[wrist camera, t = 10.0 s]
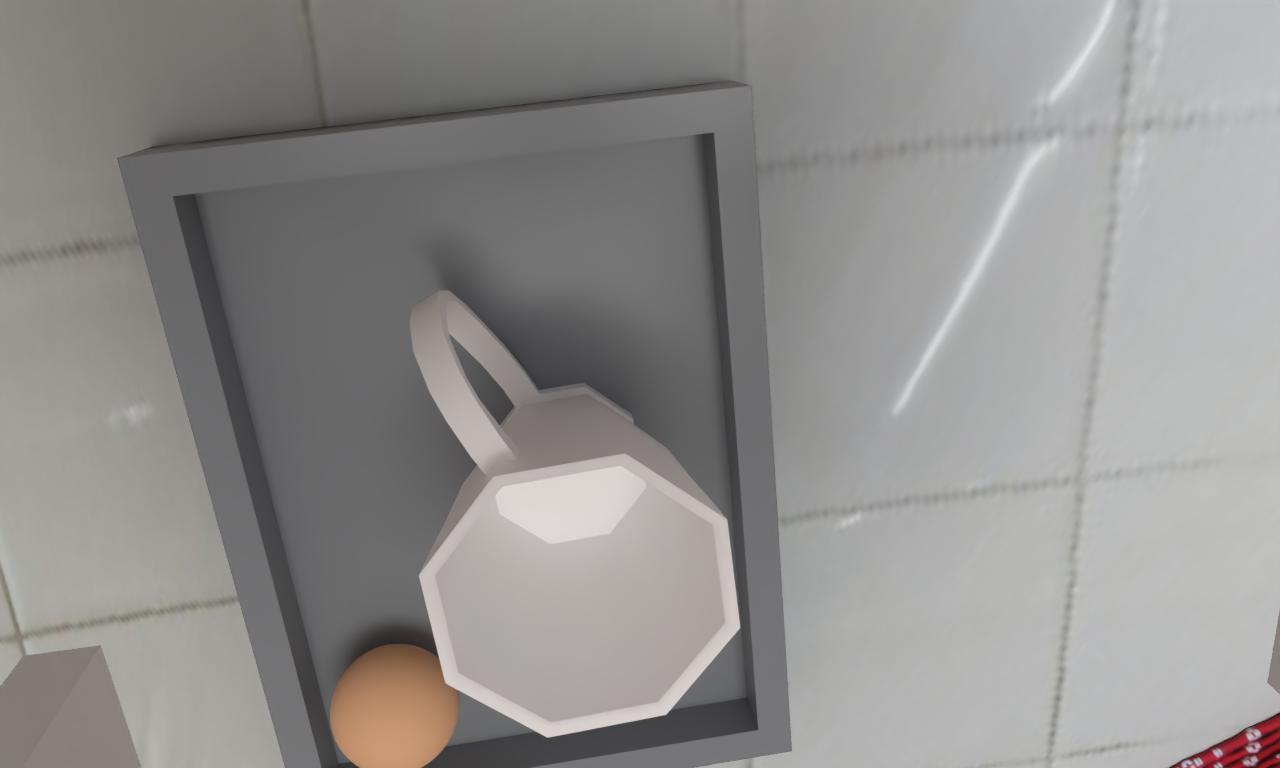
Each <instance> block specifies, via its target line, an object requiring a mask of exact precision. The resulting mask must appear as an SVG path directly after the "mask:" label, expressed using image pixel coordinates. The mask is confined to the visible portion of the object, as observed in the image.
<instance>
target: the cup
mask: <svg viewBox="0 0 1280 768" xmlns="http://www.w3.org/2000/svg"><path fill="white" fill-rule="evenodd" d="M410 331H411V338H412V345H413V352H414V355H415V357H416V360H417V362H418V365H419V367H420V370H421V372H422V375H423V377H424V380H425V382H426V384H427V387H428V389H429V392H430V394H431V396H432V397H433V399H434V401H435V402H436V404H437V406H438V408H439V409H440V411H441V413H442V415H443V416H444V418H445V420H446V421H447V423H448V424H449V426H450V427H451V429H452V430H453V432H454V433H455V435H456V436H457V437H458V439H459V440H460V442H461V443H462V445H463V446H464V448H465V449H466V451H467V452H468V453H469V455H470V456H471V458H472V459H473V460H474V461H475V463H476V464H477V465H476V467H475V468H474V470H473V471H472V472H471V474H470V475H469V476H468V478H467V479H466V480H465V482H464V483H463V484H462V486H461V489H460V491H459V493H458V495H457V497H456V499H455V502H454V504H453V506H452V508H451V510H450V513H449V515H448V517H447V519H446V521H445V523H444V525H443V527H442V529H441V531H440V533H439V535H438V537H437V539H436V541H435V543H434V545H433V546H432V548H431V550H430V553H429V555H428V557H427V559H426V561H425V563H424V565H423V567H422V570H421V572H420V574H419V579H420V583H421V587H422V591H423V595H424V599H425V603H426V607H427V611H428V615H429V619H430V623H431V627H432V631H433V635H434V640H435V644H436V648H437V652H438V656H439V660H440V664H441V668H442V672H443V676H444V680H445V683H446V684H447V685H449V686H451V687H453V688H455V689H457V690H459V691H461V692H462V693H464V694H466V695H468V696H470V697H472V698H474V699H476V700H478V701H479V702H481V703H483V704H485V705H487V706H489V707H491V708H493V709H494V710H496V711H498V712H500V713H502V714H504V715H506V716H508V717H510V718H511V719H513V720H515V721H517V722H519V723H521V724H523V725H525V726H526V727H528V728H530V729H532V730H534V731H536V732H538V733H540V734H542V735H543V736H545V737H547V738H549V737H554V736H559V735H565V734H570V733H575V732H580V731H585V730H590V729H596V728H601V727H606V726H611V725H616V724H621V723H627V722H632V721H637V720H642V719H647V718H653V717H658V716H663V715H667V713H668V712H669V711H670V710H671V709H672V707H673V706H674V705H675V704H676V703H677V702H678V700H679V699H680V698H681V697H682V696H683V695H684V693H685V692H686V691H687V690H688V689H689V688H690V686H691V685H692V684H693V683H694V682H695V680H696V679H697V678H698V677H699V676H700V675H701V673H702V672H703V671H704V670H705V669H706V668H707V666H708V665H709V664H710V663H711V662H712V660H713V659H714V658H715V657H716V656H717V655H718V653H719V652H720V651H721V650H722V649H723V648H724V646H725V645H726V644H727V643H728V642H729V640H730V639H731V638H732V637H733V636H734V635H735V633H736V632H737V631H738V630H739V629H740V620H739V612H738V604H737V596H736V587H735V579H734V571H733V563H732V554H731V546H730V538H729V529H728V521H727V519H726V517H725V516H724V515H723V514H722V513H721V511H720V510H719V509H718V508H717V507H716V505H715V504H714V503H713V502H712V501H711V499H710V498H709V497H708V496H707V495H706V494H705V493H704V492H703V490H702V489H701V488H700V487H699V486H698V485H697V484H696V483H695V482H694V481H693V479H692V478H691V477H690V476H689V475H688V473H687V472H686V471H685V470H684V468H683V467H682V466H681V465H680V463H679V462H678V461H677V460H676V459H675V457H674V456H673V455H672V454H671V452H670V451H669V450H668V449H667V448H666V447H665V446H663V445H662V444H661V443H659V442H658V441H656V440H655V439H654V438H652V437H651V436H650V435H648V434H647V433H645V432H644V431H643V430H641V429H640V428H638V427H637V426H635V425H634V422H633V417H632V414H631V413H629V412H628V411H626V410H625V409H623V408H622V407H620V406H619V405H617V404H616V403H614V402H613V401H611V400H610V399H608V398H606V397H605V396H603V395H602V394H600V393H599V392H597V391H596V390H594V389H593V388H591V387H590V386H588V385H587V384H585V383H578V384H572V385H566V386H560V387H554V388H548V389H543V390H538V388H537V387H536V385H535V384H534V382H533V381H532V379H531V378H530V377H529V375H528V374H527V372H526V371H525V369H524V368H523V367H522V366H521V365H520V363H519V362H518V361H517V360H516V359H515V357H514V356H513V355H512V354H511V353H510V351H509V350H508V349H507V348H506V346H505V345H504V344H503V343H502V342H501V341H500V340H499V339H498V338H497V337H496V335H495V334H494V333H493V332H492V331H491V330H490V329H489V328H488V327H487V326H486V325H485V324H484V323H483V322H482V320H481V319H480V318H479V317H478V316H477V315H476V314H475V313H474V312H473V311H472V310H471V309H470V308H469V307H468V306H467V305H466V304H465V303H464V302H462V301H461V300H460V299H459V298H458V297H456V296H455V295H454V294H453V293H451V292H450V291H438V292H437V293H435V294H433V295H432V296H430V297H428V298H427V299H425V300H424V301H422V302H420V303H419V304H417V305H415V306H414V307H412V309H411V316H410ZM449 334H450V335H451V336H452V337H454V338H455V339H456V340H457V341H458V342H459V343H460V344H461V345H462V346H463V347H464V348H465V349H466V350H467V351H468V352H469V353H470V354H471V355H472V356H473V357H474V358H475V359H476V360H477V361H478V362H479V363H480V364H481V365H482V366H483V367H484V368H485V369H486V370H487V372H488V373H489V374H490V375H491V376H492V377H493V378H494V380H495V381H496V382H497V383H498V384H499V385H500V386H501V388H502V389H503V390H504V391H505V393H506V394H507V396H508V397H509V399H510V400H511V402H512V403H513V405H514V407H513V408H512V410H511V411H510V412H509V414H508V415H507V417H506V418H505V419H504V421H503V422H502V423H501V425H499V424H498V423H497V421H496V420H495V419H494V418H493V416H492V415H491V414H490V412H489V411H488V410H487V408H486V407H485V406H484V405H483V403H482V402H481V401H480V399H479V398H478V396H477V394H476V393H475V391H474V389H473V388H472V386H471V384H470V382H469V381H468V379H467V377H466V375H465V372H464V370H463V368H462V365H461V363H460V361H459V358H458V356H457V354H456V352H455V349H454V347H453V345H452V342H451V340H450V336H449Z"/></svg>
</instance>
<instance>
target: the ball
mask: <svg viewBox="0 0 1280 768" xmlns="http://www.w3.org/2000/svg"><path fill="white" fill-rule="evenodd" d="M458 713H459V697H458V691H457V689H455V688H453V687H451V686H449V685H447V684H446V683H445V680H444V676H443V672H442V668H441V664H440V660H439V658H438V657H436V656H435V655H434V654H432V653H431V652H429V651H427V650H425V649H423V648H420V647H417V646H413V645H409V644H389V645H384V646H380V647H377V648H375V649H372V650H370V651H368V652H366V653H365V654H363V655H362V656H360V657H359V658H357V659H356V660H355V661H354V662H353V663H352V664H351V665H350V666H349V667H348V668H347V669H346V670H345V672H344V673H343V675H342V676H341V678H340V679H339V681H338V683H337V685H336V687H335V690H334V693H333V696H332V700H331V706H330V723H331V729H332V732H333V735H334V738H335V741H336V743H337V745H338V746H339V748H340V750H341V751H342V752H343V754H344V755H345V756H346V757H347V758H348V759H349V760H350V761H351V762H352V763H354V764H355V765H356V766H358V767H360V768H421V767H423V766H425V765H426V764H428V763H429V762H431V761H432V760H433V759H434V758H435V757H436V756H437V755H438V754H439V753H440V752H441V751H442V750H443V749H444V747H445V746H446V745H447V743H448V742H449V740H450V738H451V736H452V734H453V732H454V729H455V726H456V724H457V719H458Z"/></svg>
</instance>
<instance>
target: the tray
mask: <svg viewBox="0 0 1280 768" xmlns="http://www.w3.org/2000/svg"><path fill="white" fill-rule="evenodd" d="M117 159H118V163H119V167H120V170H121V174H122V178H123V181H124V185H125V188H126V192H127V196H128V199H129V203H130V207H131V210H132V214H133V217H134V221H135V225H136V228H137V232H138V236H139V239H140V243H141V246H142V250H143V254H144V257H145V261H146V265H147V268H148V272H149V275H150V279H151V283H152V286H153V290H154V294H155V297H156V301H157V304H158V308H159V312H160V315H161V319H162V323H163V326H164V330H165V333H166V337H167V341H168V344H169V348H170V352H171V355H172V359H173V363H174V366H175V370H176V373H177V377H178V381H179V384H180V388H181V392H182V395H183V399H184V402H185V406H186V410H187V413H188V417H189V421H190V424H191V428H192V431H193V435H194V439H195V442H196V446H197V450H198V453H199V457H200V460H201V464H202V468H203V471H204V475H205V479H206V482H207V486H208V489H209V493H210V497H211V500H212V504H213V508H214V511H215V515H216V518H217V522H218V526H219V529H220V533H221V537H222V540H223V544H224V547H225V551H226V555H227V558H228V562H229V566H230V569H231V573H232V576H233V580H234V584H235V587H236V591H237V595H238V598H239V602H240V605H241V609H242V613H243V616H244V620H245V624H246V627H247V631H248V634H249V638H250V642H251V645H252V649H253V653H254V656H255V660H256V664H257V667H258V671H259V674H260V678H261V682H262V685H263V689H264V693H265V696H266V700H267V703H268V707H269V711H270V714H271V718H272V722H273V725H274V729H275V732H276V736H277V740H278V743H279V747H280V751H281V754H282V758H283V761H284V765H285V768H360V767H358V766H356V765H355V764H354V763H352V762H351V761H350V760H349V759H348V758H347V757H346V756H345V755H344V754H343V752H342V751H341V750H340V748H339V746H338V745H337V743H336V741H335V738H334V735H333V732H332V729H331V723H330V706H331V700H332V696H333V693H334V690H335V687H336V685H337V683H338V681H339V679H340V678H341V676H342V675H343V673H344V672H345V670H346V669H347V668H348V667H349V666H350V665H351V664H352V663H353V662H354V661H355V660H356V659H357V658H359V657H360V656H362V655H363V654H365V653H366V652H368V651H370V650H372V649H375V648H377V647H380V646H384V645H389V644H409V645H413V646H417V647H420V648H423V649H425V650H427V651H429V652H431V653H432V654H434V655H435V656H436V657H438V658H439V656H438V652H437V648H436V644H435V640H434V635H433V631H432V627H431V623H430V619H429V615H428V611H427V607H426V603H425V599H424V595H423V591H422V587H421V583H420V579H419V574H420V572H421V570H422V567H423V565H424V563H425V561H426V559H427V557H428V555H429V553H430V550H431V548H432V546H433V545H434V543H435V541H436V539H437V537H438V535H439V533H440V531H441V529H442V527H443V525H444V523H445V521H446V519H447V517H448V515H449V513H450V510H451V508H452V506H453V504H454V502H455V499H456V497H457V495H458V493H459V491H460V489H461V486H462V484H463V483H464V482H465V480H466V479H467V478H468V476H469V475H470V474H471V472H472V471H473V470H474V468H475V467H476V465H477V464H476V463H475V461H474V460H473V459H472V458H471V456H470V455H469V453H468V452H467V451H466V449H465V448H464V446H463V445H462V443H461V442H460V440H459V439H458V437H457V436H456V435H455V433H454V432H453V430H452V429H451V427H450V426H449V424H448V423H447V421H446V420H445V418H444V416H443V415H442V413H441V411H440V409H439V408H438V406H437V404H436V402H435V401H434V399H433V397H432V396H431V394H430V392H429V389H428V387H427V384H426V382H425V380H424V377H423V375H422V372H421V370H420V367H419V365H418V362H417V360H416V357H415V355H414V352H413V345H412V338H411V331H410V316H411V309H412V307H414V306H415V305H417V304H419V303H420V302H422V301H424V300H425V299H427V298H428V297H430V296H432V295H433V294H435V293H437V292H438V291H450V292H451V293H453V294H454V295H455V296H456V297H458V298H459V299H460V300H461V301H462V302H464V303H465V304H466V305H467V306H468V307H469V308H470V309H471V310H472V311H473V312H474V313H475V314H476V315H477V316H478V317H479V318H480V319H481V320H482V322H483V323H484V324H485V325H486V326H487V327H488V328H489V329H490V330H491V331H492V332H493V333H494V334H495V335H496V337H497V338H498V339H499V340H500V341H501V342H502V343H503V344H504V345H505V346H506V348H507V349H508V350H509V351H510V353H511V354H512V355H513V356H514V357H515V359H516V360H517V361H518V362H519V363H520V365H521V366H522V367H523V368H524V369H525V371H526V372H527V374H528V375H529V377H530V378H531V379H532V381H533V382H534V384H535V385H536V387H537V388H538V390H543V389H548V388H554V387H560V386H566V385H572V384H578V383H585V384H587V385H588V386H590V387H591V388H593V389H594V390H596V391H597V392H599V393H600V394H602V395H603V396H605V397H606V398H608V399H610V400H611V401H613V402H614V403H616V404H617V405H619V406H620V407H622V408H623V409H625V410H626V411H628V412H629V413H631V414H632V417H633V422H634V425H635V426H637V427H638V428H640V429H641V430H643V431H644V432H645V433H647V434H648V435H650V436H651V437H652V438H654V439H655V440H656V441H658V442H659V443H661V444H662V445H663V446H665V447H666V448H667V449H668V450H669V451H670V452H671V454H672V455H673V456H674V457H675V459H676V460H677V461H678V462H679V463H680V465H681V466H682V467H683V468H684V470H685V471H686V472H687V473H688V475H689V476H690V477H691V478H692V479H693V481H694V482H695V483H696V484H697V485H698V486H699V487H700V488H701V489H702V490H703V492H704V493H705V494H706V495H707V496H708V497H709V498H710V499H711V501H712V502H713V503H714V504H715V505H716V507H717V508H718V509H719V510H720V511H721V513H722V514H723V515H724V516H725V517H726V519H727V521H728V529H729V538H730V546H731V554H732V563H733V571H734V579H735V587H736V596H737V604H738V612H739V620H740V629H739V630H738V631H737V632H736V633H735V635H734V636H733V637H732V638H731V639H730V640H729V642H728V643H727V644H726V645H725V646H724V648H723V649H722V650H721V651H720V652H719V653H718V655H717V656H716V657H715V658H714V659H713V660H712V662H711V663H710V664H709V665H708V666H707V668H706V669H705V670H704V671H703V672H702V673H701V675H700V676H699V677H698V678H697V679H696V680H695V682H694V683H693V684H692V685H691V686H690V688H689V689H688V690H687V691H686V692H685V693H684V695H683V696H682V697H681V698H680V699H679V700H678V702H677V703H676V704H675V705H674V706H673V707H672V709H671V710H670V711H669V712H668V713H667V715H663V716H658V717H653V718H647V719H642V720H637V721H632V722H627V723H621V724H616V725H611V726H606V727H601V728H596V729H590V730H585V731H580V732H575V733H570V734H565V735H559V736H554V737H549V738H547V737H545V736H543V735H542V734H540V733H538V732H536V731H534V730H532V729H530V728H528V727H526V726H525V725H523V724H521V723H519V722H517V721H515V720H513V719H511V718H510V717H508V716H506V715H504V714H502V713H500V712H498V711H496V710H494V709H493V708H491V707H489V706H487V705H485V704H483V703H481V702H479V701H478V700H476V699H474V698H472V697H470V696H468V695H466V694H464V693H462V692H461V691H459V690H457V691H458V697H459V713H458V719H457V724H456V726H455V729H454V732H453V734H452V736H451V738H450V740H449V742H448V743H447V745H446V746H445V747H444V749H443V750H442V751H441V752H440V753H439V754H438V755H437V756H436V757H435V758H434V759H433V760H432V761H431V762H429V763H428V764H426V765H425V766H423V767H421V768H694V767H700V766H706V765H712V764H718V763H724V762H730V761H736V760H742V759H747V758H753V757H759V756H765V755H771V754H777V753H783V752H789V751H792V747H791V731H790V714H789V698H788V681H787V665H786V648H785V632H784V615H783V599H782V582H781V566H780V549H779V533H778V517H777V500H776V484H775V467H774V451H773V434H772V418H771V401H770V385H769V368H768V352H767V335H766V319H765V302H764V286H763V269H762V253H761V236H760V220H759V203H758V187H757V170H756V154H755V137H754V121H753V104H752V88H751V86H750V85H746V84H742V83H738V82H734V81H725V82H716V83H708V84H699V85H690V86H681V87H673V88H664V89H655V90H646V91H637V92H629V93H620V94H611V95H602V96H594V97H585V98H576V99H567V100H558V101H550V102H541V103H532V104H523V105H515V106H506V107H497V108H488V109H480V110H471V111H462V112H453V113H444V114H436V115H427V116H418V117H409V118H401V119H392V120H383V121H374V122H365V123H357V124H348V125H339V126H330V127H322V128H313V129H304V130H295V131H286V132H278V133H269V134H260V135H251V136H243V137H234V138H225V139H216V140H208V141H199V142H190V143H181V144H172V145H164V146H155V147H150V148H147V149H144V150H141V151H138V152H135V153H132V154H129V155H126V156H123V157H120V158H117ZM449 336H450V340H451V342H452V345H453V347H454V349H455V352H456V354H457V356H458V358H459V361H460V363H461V365H462V368H463V370H464V372H465V375H466V377H467V379H468V381H469V382H470V384H471V386H472V388H473V389H474V391H475V393H476V394H477V396H478V398H479V399H480V401H481V402H482V403H483V405H484V406H485V407H486V408H487V410H488V411H489V412H490V414H491V415H492V416H493V418H494V419H495V420H496V421H497V423H498V424H499V425H501V423H502V422H503V421H504V419H505V418H506V417H507V415H508V414H509V412H510V411H511V410H512V408H513V407H514V405H513V403H512V402H511V400H510V399H509V397H508V396H507V394H506V393H505V391H504V390H503V389H502V388H501V386H500V385H499V384H498V383H497V382H496V381H495V380H494V378H493V377H492V376H491V375H490V374H489V373H488V372H487V370H486V369H485V368H484V367H483V366H482V365H481V364H480V363H479V362H478V361H477V360H476V359H475V358H474V357H473V356H472V355H471V354H470V353H469V352H468V351H467V350H466V349H465V348H464V347H463V346H462V345H461V344H460V343H459V342H458V341H457V340H456V339H455V338H454V337H452V336H451V335H450V334H449Z"/></svg>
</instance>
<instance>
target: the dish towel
mask: <svg viewBox="0 0 1280 768" xmlns="http://www.w3.org/2000/svg"><path fill="white" fill-rule="evenodd" d="M1171 768H1280V714H1279V715H1278V716H1276V717H1274V718H1272V719H1269V720H1267V721H1264V722H1262V723H1260V724H1257V725H1255V726H1252V727H1249V728H1247V729H1245V730H1244V731H1243V732H1241V733H1240V734H1239V735H1237V736H1235V737H1233V738H1231V739H1229V740H1227V741H1225V742H1223V743H1221V744H1219V745H1216V746H1214V747H1212V748H1210V749H1208V750H1206V751H1204V752H1202V753H1200V754H1197V755H1194V756H1192V757H1190V758H1188V759H1185V760H1183V761H1181V762H1180V763H1178V764H1177V765H1175V766H1173V767H1171Z"/></svg>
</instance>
